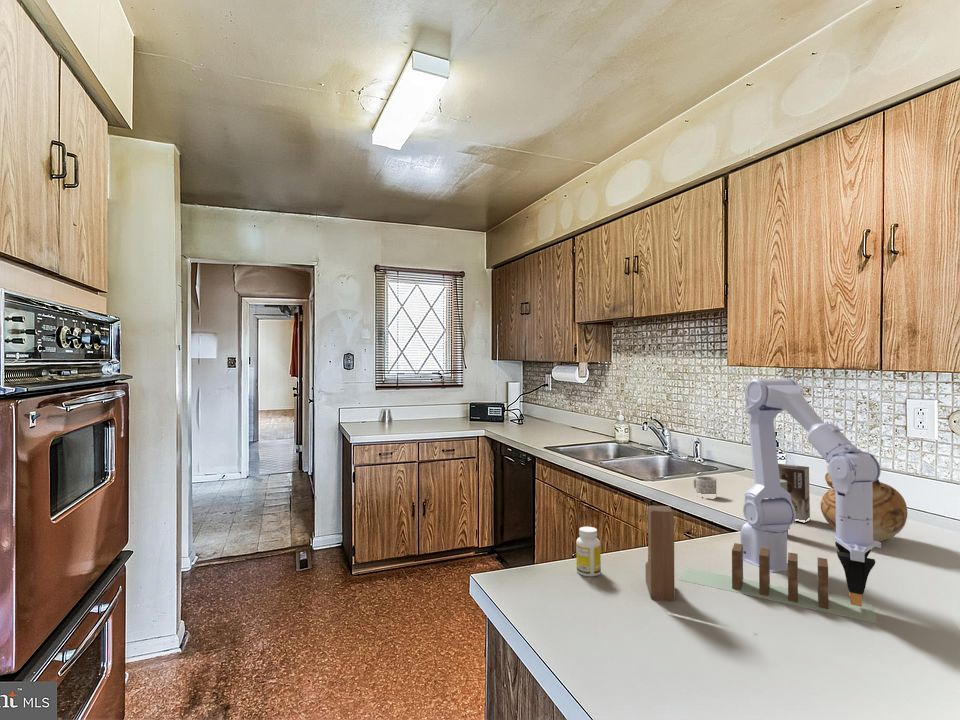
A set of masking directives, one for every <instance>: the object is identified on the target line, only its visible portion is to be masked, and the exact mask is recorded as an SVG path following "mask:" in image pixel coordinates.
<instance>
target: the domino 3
mask: <svg viewBox="0 0 960 720" xmlns="http://www.w3.org/2000/svg"><path fill="white" fill-rule="evenodd" d="M798 560H799V557H798V553H795V552H788V551H787V563H788V570H787V588H788V601H792V602H797V603H798V590H799V576H798V575H799V573H798V572H799V571H798V569H799V567H798V566H799V564H798V563H799V562H798Z"/></svg>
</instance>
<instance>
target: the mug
mask: <svg viewBox="0 0 960 720" xmlns="http://www.w3.org/2000/svg"><path fill="white" fill-rule="evenodd" d="M692 482H693V483H692V485H693V489H694V488H695V489H696V491H695V493H696V492H697V493H701V494H716V495H717V478H716V477H711V476H703V475H702V476H700V475H699V476H696V477H694V478H693V481H692Z"/></svg>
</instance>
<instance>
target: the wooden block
mask: <svg viewBox="0 0 960 720" xmlns="http://www.w3.org/2000/svg"><path fill="white" fill-rule="evenodd" d="M647 548H648V549H647V554H648V555H647V562H645V584H646V587H647V590H648V593H649V597H650V600H653V601H665V602H675V513H674V510H673V509H672V507H671V506H667V505H648V507H647Z"/></svg>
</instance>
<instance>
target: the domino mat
mask: <svg viewBox="0 0 960 720" xmlns="http://www.w3.org/2000/svg"><path fill="white" fill-rule="evenodd" d="M678 580H679V581H682V582H685V583H686V582H687V583H690V584H691V583H692V584H695V585H700V586H705V587H708V588H709V587H710V588H714V589H719V590H723V591H727V592H731V593H738V594H741V595H746V596H749V597H756V598H759V599H765V600H768V601H772V602H773V601H774V602H778V603H781V604H786V605H791V606H796V607H801V608H806V609H810V610H814V611H818V612H824V613H829V614H834V615H837V616H842V617H846V618H852V619H856V620H860V621H865V622H870V623H873V624H878V621H877V616H876V615H875V614H876V613H875V610H874V608H873V607H874V606H873V605H871V604H868V603H863V602H862V607H861V606H856V605H851V601H850V600H847V599H843V598H838V597H834V596H828V602H829V609H825V608H820V607H818V593H813V592H808V591H804V590H799V589H798V603H797V602H792V601H788V587H784V586H779V585H774V584H770V589H769V596H765V595H760V594H759V581H755V580H749V579H744V578H743V584H742V587H741V590H737V589H732V575H731V576H730V575H724V574H720V573H715V572H711V571H705V570H701V569H696V568H693V567H692V568H691V567H686V568H685V569H684V571H683V573H682V574H681V576H680V578H679V579H678Z"/></svg>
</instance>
